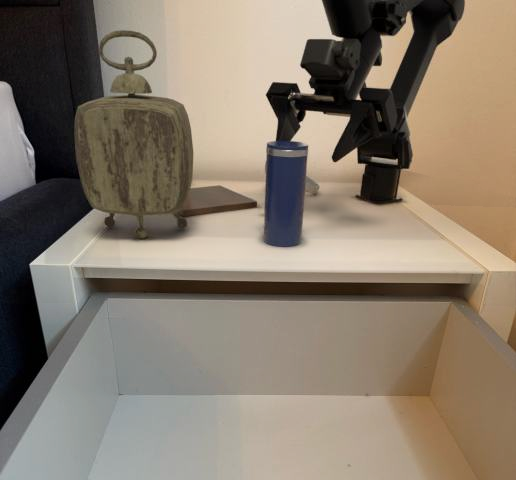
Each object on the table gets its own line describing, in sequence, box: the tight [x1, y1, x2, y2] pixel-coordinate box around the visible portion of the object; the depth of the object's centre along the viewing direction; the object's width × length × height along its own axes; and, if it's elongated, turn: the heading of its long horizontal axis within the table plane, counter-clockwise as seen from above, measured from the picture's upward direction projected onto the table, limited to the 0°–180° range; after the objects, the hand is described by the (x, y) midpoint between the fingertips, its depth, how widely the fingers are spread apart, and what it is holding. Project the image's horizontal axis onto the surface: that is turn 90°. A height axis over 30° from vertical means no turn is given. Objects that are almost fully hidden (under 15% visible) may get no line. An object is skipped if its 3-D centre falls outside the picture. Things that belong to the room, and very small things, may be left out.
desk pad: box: [177, 184, 258, 217], centre depth 89 cm, size 14×14×1 cm
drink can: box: [263, 140, 309, 248], centre depth 68 cm, size 6×6×13 cm
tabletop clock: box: [73, 29, 194, 240], centre depth 66 cm, size 14×9×25 cm, turn 92°
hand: (304, 156), depth 69 cm, fingers open, 9 cm apart
